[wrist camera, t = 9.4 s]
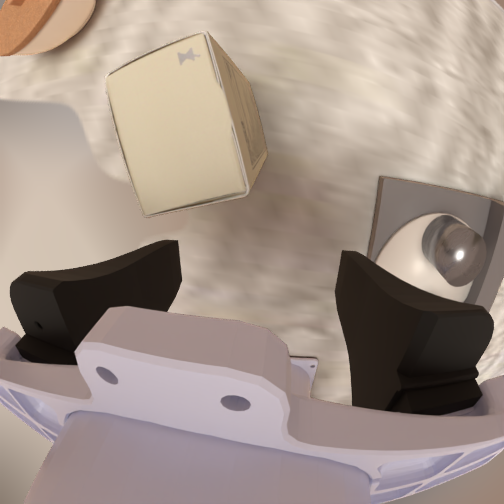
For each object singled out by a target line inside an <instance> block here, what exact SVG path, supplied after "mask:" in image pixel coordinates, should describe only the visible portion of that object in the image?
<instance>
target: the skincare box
mask: <svg viewBox="0 0 504 504" xmlns="http://www.w3.org/2000/svg"><path fill="white" fill-rule="evenodd" d="M105 86H106V94H107V99H108V105H109V109H110V114H111V119H112V122H113V126H114V130H115V134H116V137H117V141H118V145H119V148H120V151H121V155H122V158H123V161H124V165H125V168H126V171H127V174H128V177H129V180H130V183H131V185H132V188H133V191H134V194H135V196H136V199H137V201H138V204H139V207H140V210H141V212H142V215H143V216H144V217H145V218H150V217H154V216H158V215H163V214H168V213H173V212H177V211H183V210H188V209H193V208H196V207H202V206H206V205H211V204H216V203H220V202H225V201H230V200H234V199H239V198H243V197H246V196H247V195H248V194H249V192H250V190H251V188H252V186H253V184H254V182H255V180H256V178H257V176H258V174H259V172H260V170H261V168H262V165H263V163H264V161H265V159H266V157H267V155H268V152H267V147H266V142H265V138H264V134H263V129H262V125H261V121H260V118H259V114H258V110H257V106H256V103H255V99H254V96H253V93H252V90H251V86H250V84H249V82H248V80H247V79H246V78H245V76H244V75H243V74H242V73H241V71H240V70H239V69H238V68H237V66H236V65H235V64H234V63H233V61H232V60H231V59H230V58H229V56H228V55H227V54H226V53H225V51H224V50H223V49H222V48H221V47H220V46H219V44H218V43H217V42H216V41H215V40H214V39H213V37H212V36H211V35H210V34H209V33H208V32H207V31H200V32H197V33H194V34H192V35H189V36H186V37H183V38H180V39H177V40H175V41H172V42H170V43H167V44H164V45H162V46H160V47H157V48H155V49H153V50H151V51H148V52H146V53H144V54H142V55H140V56H138V57H136V58H134V59H132V60H130V61H128V62H126V63H124V64H123V65H121V66H120V67H118V68H116V69H115V70H113V71H111V72H110V73H108V74H107V75H106V76H105Z"/></svg>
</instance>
